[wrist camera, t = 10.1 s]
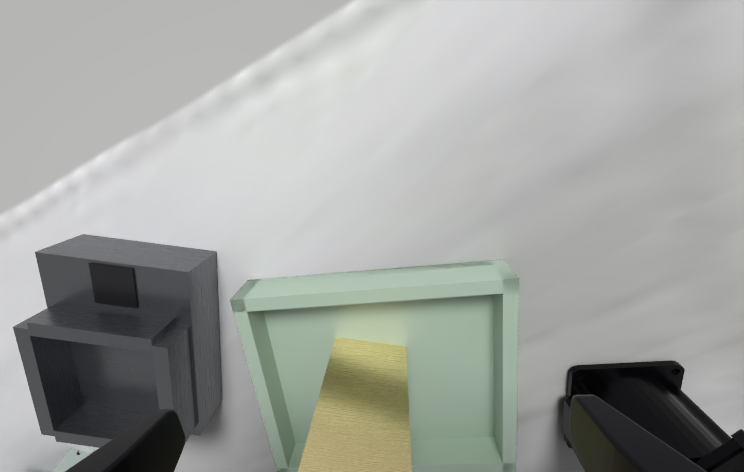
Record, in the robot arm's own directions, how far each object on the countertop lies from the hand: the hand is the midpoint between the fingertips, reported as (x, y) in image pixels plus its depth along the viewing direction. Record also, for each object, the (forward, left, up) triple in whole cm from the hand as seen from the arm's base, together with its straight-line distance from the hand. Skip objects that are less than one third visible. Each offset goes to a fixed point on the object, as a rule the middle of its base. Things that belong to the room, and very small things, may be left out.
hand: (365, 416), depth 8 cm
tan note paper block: (+2, +9, -12) cm, 15 cm away
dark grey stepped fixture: (+16, +5, -13) cm, 21 cm away
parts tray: (+1, +9, -13) cm, 16 cm away
